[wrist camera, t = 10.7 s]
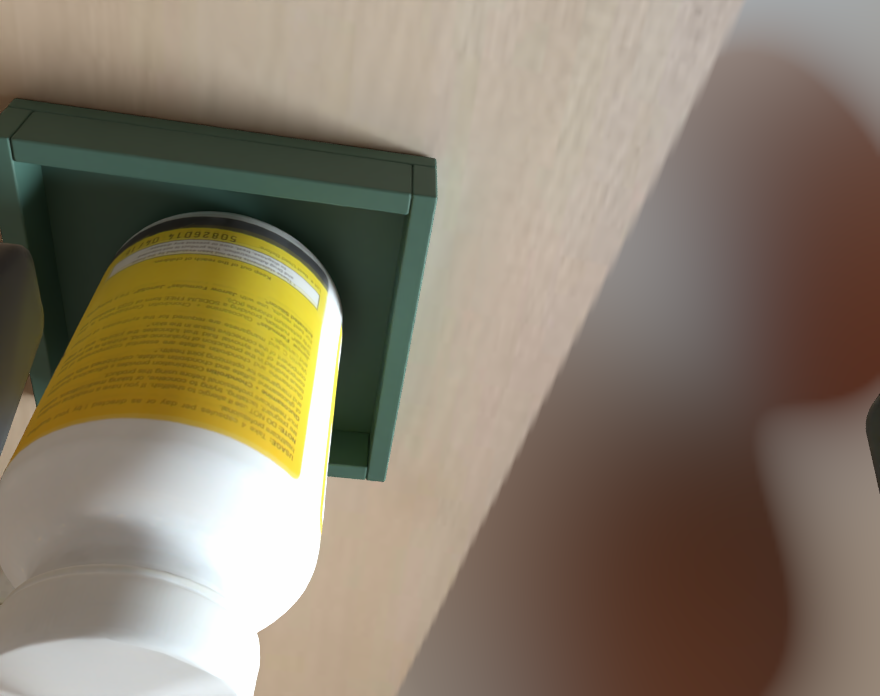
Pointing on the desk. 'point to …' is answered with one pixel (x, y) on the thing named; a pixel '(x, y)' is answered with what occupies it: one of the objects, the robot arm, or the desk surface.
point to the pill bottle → (173, 468)
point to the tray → (234, 191)
